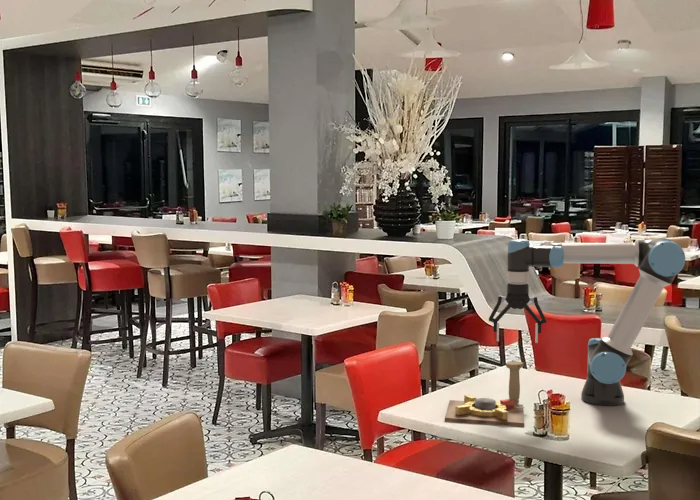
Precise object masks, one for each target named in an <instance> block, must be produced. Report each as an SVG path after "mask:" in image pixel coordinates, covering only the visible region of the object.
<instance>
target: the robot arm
mask: <svg viewBox="0 0 700 500" xmlns="http://www.w3.org/2000/svg"><path fill="white" fill-rule="evenodd" d="M564 264H591V265H592V264H597V265H598V264H604V265H605V264H606V265H607V264H609V265H617V264H618V265H619V264H620V265H634V266H635V267H637V268H638V267H639V268H638V271H639V277H638V279H637V281H636V283H635V284H634V286H633V288H632V290H631V292H630V294H629V296H628V297H627V300H626V302H625V303H624V305H623V307H622V309H621V310H620V313H619V314H618V316H617V318H616V320H615V322H614V324H613V326H612V327H611V329H610V331H609V333H608V335H607V336H603V337H601V338H600V337H595V338H593V337H592V338H590V339H589V340H588V343H587V368H586V370H587V371H586V380H585V382H584V385H583V388H582V390H581V395H580V396H581V397H580V398H581V400H582V401H583V402H586V403H588V404H593V405H597V406H606V407H607V406H612V407H613V406H619V405H618V404H620V405H622V403H623V402H624V403H625V394H624V390H623V388H622V384H621V380H622V379H623V378H624V376H625V374H626V372H627V367H628V364H629V362H630V360H631V359H632V356H633V355H634V353H633V351H632V347H633V345H634V343H635V341H636V339H637V338H638V336H639V334H640V333H641V330H642V328H643V327H644V324H645V323H646V321H647V319H648V317H649V315H650V314H651V311H652V310H653V308H654V306H655V305H656V302H657V301H658V300H659V297H660V296H661V293H662V292H663V290H664V288H666V287H668V286H671V285H672V283H673V282H674V280H675V278H676V276H677V275H678V274H679V273H680V272H681V271H682V270H683V269H684V267H685V264H686V253H685V251H684V249H683V248H682V246H681V245H680V244H679V243H677V242H676V241H672V240H671V239H669V238H664V237H663V238H662V237H660V238H651V239H636V240H635V241H634V242H547V241H545V242H542V243H540V244H539V245H531V244H530V241H529V240H528V239H511V240H509V241H508V243H507V273H506V274H507V278H506V279H507V282H508V283H507V285H506V296H502V295H500V294H499V295H498V297H497V302H496V304H495V306H494V308H493V310H492V311H491V313H490V315H489V317H488V321H489V322H491V323H493V332H494V333H496V342H500V322H499V321H500V320H501V318H503V316H504V315H505V314H506V313H507V312H508V311H509V310H510V309H512V310H516V309H518V310H522V309H525V310H526V311H527V312H528V313H529V315H530V316H531V317H532V319H534V321H535V322H536V323H535V331H534V332H535V335H534V337H535V338H534V340H535V341H534V342H535V344H538V343H539V341H538V340H539V336H538V335H539V334H541V333H542V325H543V324H546V323H547V318H546V317H545V315H544V312H543V310H542V309H541V306H540V305H539V302H538V297H537V296H536V295H534V296H530V295H529V289H530V288H529V280H530V267H532V268H533V267H540V268H553V269H555V268H562V267H563V266H564ZM504 301H506V302H507V304H506V305H505V307H504V308H503V309H502V311H501V310H500V311H501V312H500V313H498V314H497V311H498V310H499V309H500V306H501V304H502V303H504ZM530 301H531V303H532V304H534V306H535V309H536V310H537V312H538V315H539V316H540V318H539V317H538V316H537V315H536V313H535V312H534V311H533V310H532V308H530V306H529V305H528V304H529V302H530ZM496 314H497V315H496ZM495 316H496V317H495ZM494 317H495V318H494ZM624 403H623V404H624Z"/></svg>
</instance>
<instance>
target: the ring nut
mask: <svg viewBox="0 0 700 500" xmlns="http://www.w3.org/2000/svg"><path fill="white" fill-rule="evenodd" d="M476 399H477V397H476V396H473V395H471V394H464V397H463V401H464V402H465V404H464V405H460V406H456V407H455V414H457V415H463V414H472V415H477V416H489V417H493V416H495V417H497V418H499V419H502V420H506V419H508V411H506V409H507V408H514V400H513V399H509V398H507V399H500V401H496V409H492V410H483V409H477V408H475V400H476Z"/></svg>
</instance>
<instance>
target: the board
mask: <svg viewBox="0 0 700 500" xmlns="http://www.w3.org/2000/svg"><path fill="white" fill-rule="evenodd" d="M496 402H497V401H496V400H495V399H493V398H489V397H478V398H476V400H475V408H477V409H483V410H492V409H496ZM464 404H465V402H464V400H455V399H450V400H449V402H448V405H447V407H446V413H445V415H444V422H449V421H452V422H451V423H453V422H454V423H463V422H464V424H465V423H466V424H481V425H493V426H494V425H496V426H509V427H521V428H522V427H525V417H524V416H525V413H524V408H525V407H524V404H519V403H518V404H514V408H507V409H506V411H508V419H506V420H502V419H499V418H497V417H495V416H493V417H489V416H477V415H472V414H463V415H457V414H455V407H456V406H460V405H464Z"/></svg>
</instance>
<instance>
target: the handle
mask: <svg viewBox="0 0 700 500" xmlns="http://www.w3.org/2000/svg"><path fill="white" fill-rule="evenodd" d="M505 367H506V368H507V369H509V379H508V399H513V400H514V404H519V403H520V393H521V383H520V370H521V368H523V367H524V362H522V361H517V360H515V361H507V362H506V363H505Z"/></svg>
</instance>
